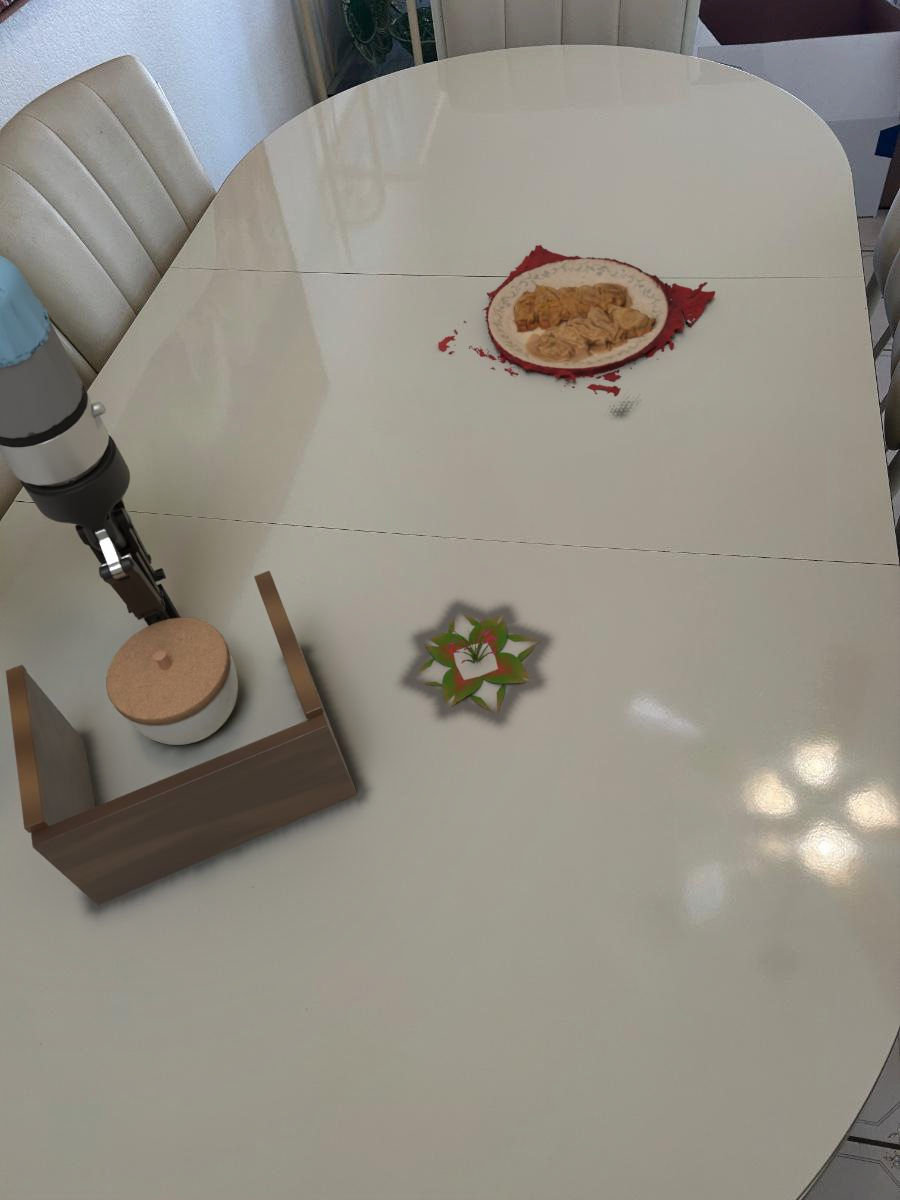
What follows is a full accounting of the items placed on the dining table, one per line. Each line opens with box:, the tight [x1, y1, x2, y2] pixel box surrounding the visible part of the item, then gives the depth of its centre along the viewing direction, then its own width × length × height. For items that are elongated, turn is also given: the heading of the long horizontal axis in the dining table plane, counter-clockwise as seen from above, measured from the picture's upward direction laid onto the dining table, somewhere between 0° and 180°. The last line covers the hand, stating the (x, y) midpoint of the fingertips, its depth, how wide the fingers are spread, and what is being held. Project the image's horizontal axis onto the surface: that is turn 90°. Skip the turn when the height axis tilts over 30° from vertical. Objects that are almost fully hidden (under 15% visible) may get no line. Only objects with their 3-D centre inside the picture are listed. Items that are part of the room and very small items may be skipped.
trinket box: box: [105, 617, 239, 746], centre depth 83 cm, size 11×11×9 cm
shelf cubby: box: [5, 570, 358, 906], centre depth 77 cm, size 16×23×13 cm
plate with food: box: [437, 244, 716, 397], centre depth 114 cm, size 24×26×4 cm
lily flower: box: [417, 614, 542, 716], centre depth 84 cm, size 12×12×5 cm
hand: (173, 635), depth 90 cm, fingers closed
